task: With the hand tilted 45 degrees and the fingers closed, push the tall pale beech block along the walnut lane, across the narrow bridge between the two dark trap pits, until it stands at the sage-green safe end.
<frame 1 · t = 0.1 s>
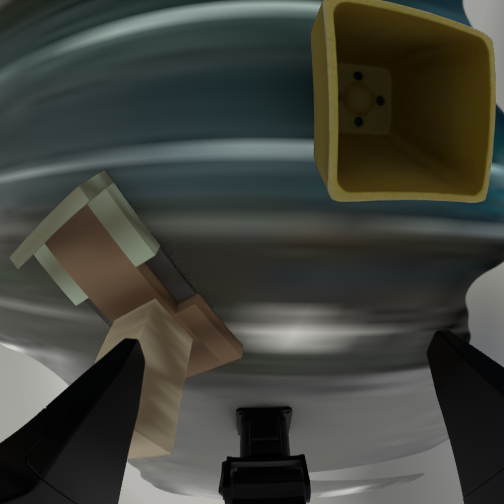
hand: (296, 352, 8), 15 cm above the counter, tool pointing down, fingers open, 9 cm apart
flower pot: (358, 98, 18), on the counter
beech block: (152, 330, 25), point 1 cm above the counter, touching walnut lane
walnut lane: (138, 299, 25), on the counter
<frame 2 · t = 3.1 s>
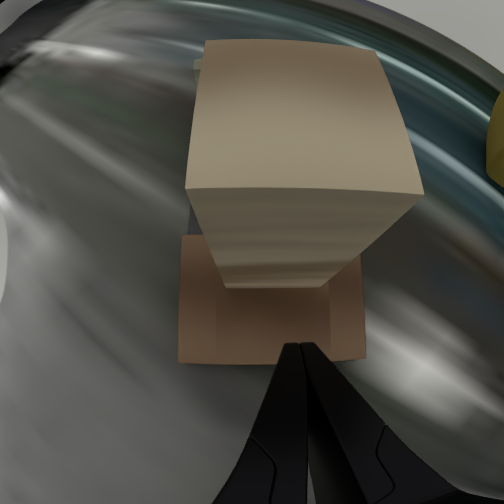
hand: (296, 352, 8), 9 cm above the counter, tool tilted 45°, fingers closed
flower pot: (502, 172, 21), on the counter
beech block: (272, 242, 17), point 1 cm above the counter, touching walnut lane
walnut lane: (269, 212, 19), on the counter
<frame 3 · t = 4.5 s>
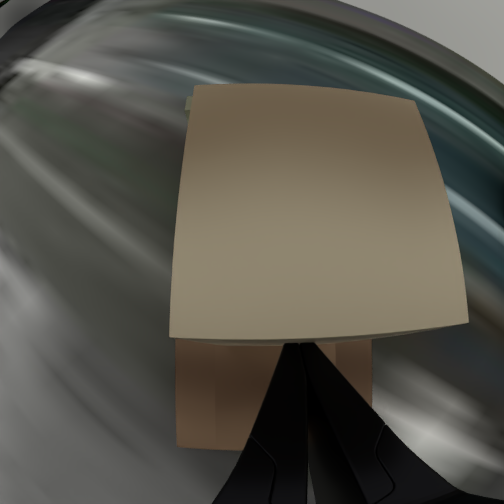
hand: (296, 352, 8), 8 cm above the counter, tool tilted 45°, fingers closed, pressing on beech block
beech block: (276, 296, 16), point 2 cm above the counter, touching gripper, walnut lane
walnut lane: (273, 283, 17), on the counter
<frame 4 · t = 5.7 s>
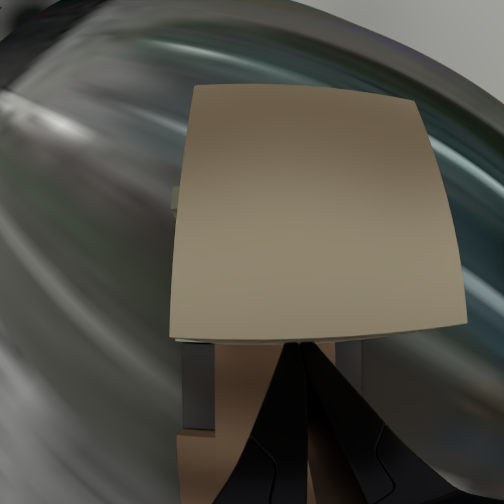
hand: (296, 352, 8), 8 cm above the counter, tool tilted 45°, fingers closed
beech block: (275, 295, 16), point 2 cm above the counter
walnut lane: (273, 396, 15), on the counter
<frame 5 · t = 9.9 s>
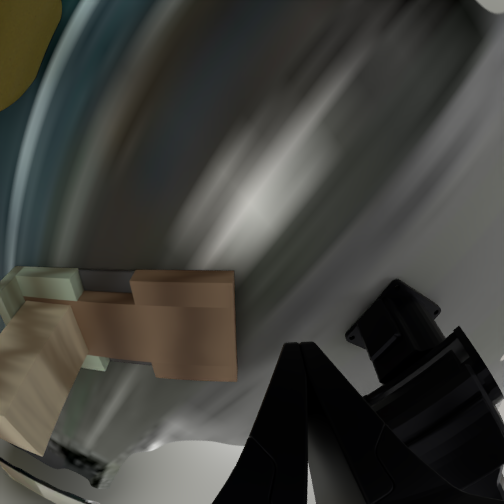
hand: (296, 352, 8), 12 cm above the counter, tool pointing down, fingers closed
flower pot: (28, 41, 13), on the counter
beech block: (56, 326, 22), point 1 cm above the counter, touching walnut lane
walnut lane: (125, 321, 23), on the counter
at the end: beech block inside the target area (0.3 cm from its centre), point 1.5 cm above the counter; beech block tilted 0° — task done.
